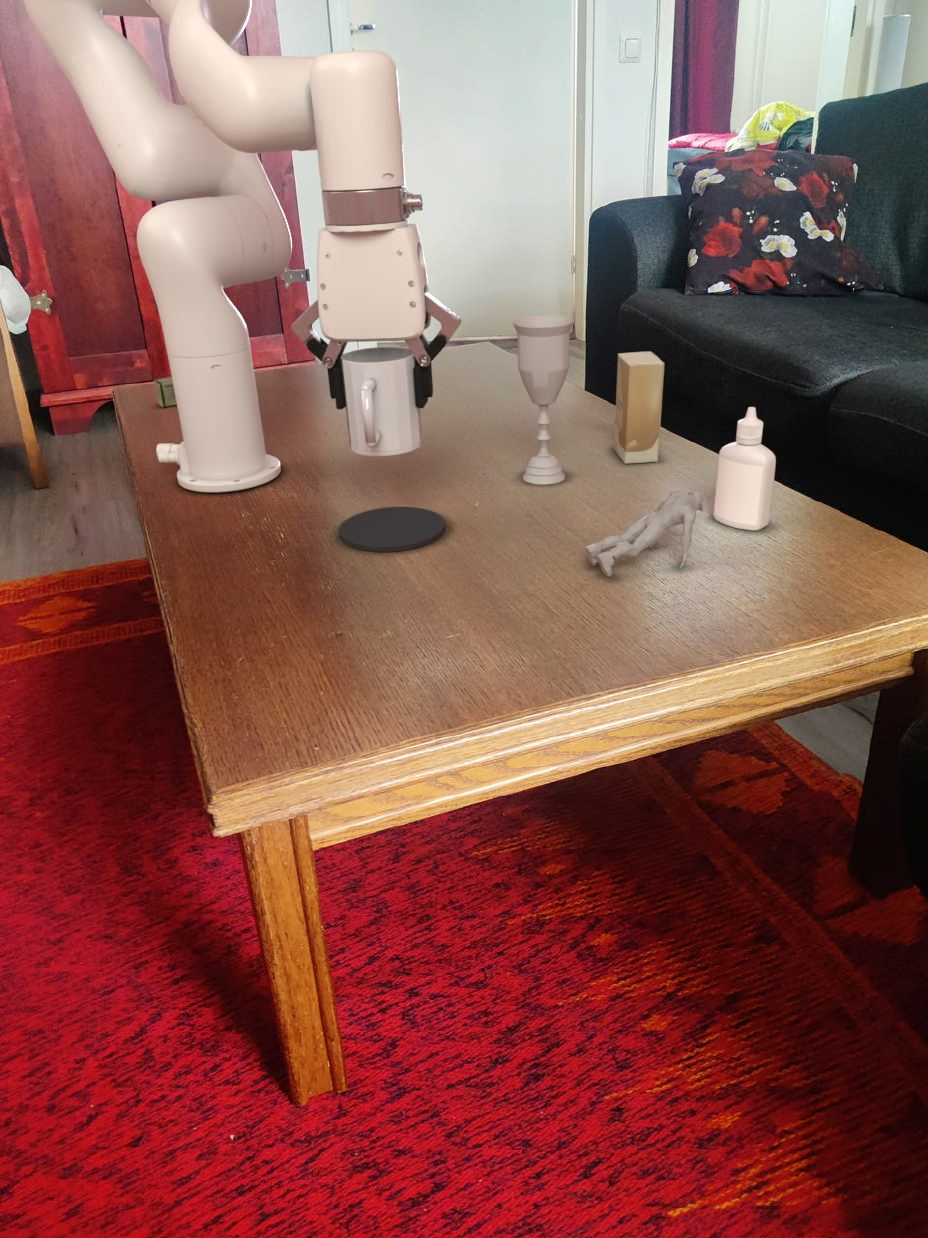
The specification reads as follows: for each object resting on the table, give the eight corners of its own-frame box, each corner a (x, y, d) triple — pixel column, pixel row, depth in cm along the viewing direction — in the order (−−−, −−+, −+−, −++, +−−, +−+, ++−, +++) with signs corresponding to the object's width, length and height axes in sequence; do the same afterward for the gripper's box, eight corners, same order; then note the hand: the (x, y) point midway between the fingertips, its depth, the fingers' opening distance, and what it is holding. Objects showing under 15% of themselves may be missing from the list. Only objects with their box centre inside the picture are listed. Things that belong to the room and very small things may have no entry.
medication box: (162, 408, 149) (158, 384, 147) (156, 403, 151) (152, 379, 149) (233, 392, 155) (230, 368, 153) (227, 388, 157) (223, 364, 155)
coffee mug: (359, 435, 99) (350, 347, 95) (427, 434, 98) (421, 345, 94) (335, 466, 90) (324, 371, 86) (409, 466, 89) (402, 369, 85)
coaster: (327, 551, 96) (326, 546, 96) (353, 511, 106) (352, 506, 105) (436, 553, 94) (436, 547, 94) (452, 511, 104) (452, 506, 104)
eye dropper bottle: (734, 535, 95) (745, 417, 89) (708, 516, 100) (717, 403, 94) (774, 529, 96) (787, 412, 90) (746, 510, 101) (757, 398, 95)
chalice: (569, 488, 109) (570, 327, 101) (510, 486, 110) (507, 327, 102) (575, 467, 115) (577, 314, 107) (520, 466, 117) (517, 315, 108)
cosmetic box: (612, 449, 121) (616, 352, 115) (646, 447, 121) (651, 349, 116) (624, 465, 115) (628, 363, 110) (659, 462, 116) (665, 361, 110)
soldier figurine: (624, 605, 88) (730, 541, 89) (607, 559, 85) (717, 493, 86) (591, 579, 93) (692, 518, 94) (574, 535, 90) (678, 473, 91)
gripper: (466, 203, 88) (474, 394, 96) (284, 211, 90) (307, 396, 98) (455, 210, 81) (465, 414, 89) (259, 218, 83) (286, 416, 92)
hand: (382, 403), depth 94 cm, fingers closed on coffee mug, 7 cm apart
